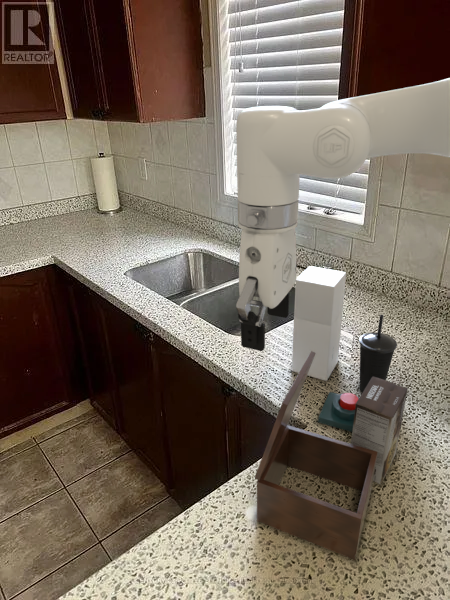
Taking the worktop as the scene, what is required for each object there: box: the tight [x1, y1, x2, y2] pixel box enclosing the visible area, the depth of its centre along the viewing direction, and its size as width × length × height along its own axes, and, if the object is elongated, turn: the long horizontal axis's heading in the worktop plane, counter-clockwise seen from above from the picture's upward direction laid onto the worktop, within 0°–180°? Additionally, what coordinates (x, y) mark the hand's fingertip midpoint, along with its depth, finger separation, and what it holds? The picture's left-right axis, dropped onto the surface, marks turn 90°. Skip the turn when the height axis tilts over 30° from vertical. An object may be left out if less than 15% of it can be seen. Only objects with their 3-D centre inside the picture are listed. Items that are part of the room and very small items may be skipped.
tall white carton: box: [291, 265, 347, 382], centre depth 104 cm, size 9×9×25 cm
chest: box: [256, 424, 378, 561], centre depth 72 cm, size 16×14×10 cm
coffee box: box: [350, 377, 409, 485], centre depth 79 cm, size 9×6×16 cm
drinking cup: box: [358, 314, 398, 394], centre depth 96 cm, size 8×8×20 cm
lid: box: [254, 351, 316, 481], centre depth 69 cm, size 16×14×1 cm
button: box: [340, 392, 359, 410], centre depth 92 cm, size 4×4×2 cm
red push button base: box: [317, 391, 360, 433], centre depth 93 cm, size 10×9×4 cm
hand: (266, 330), depth 64 cm, fingers open, 9 cm apart
